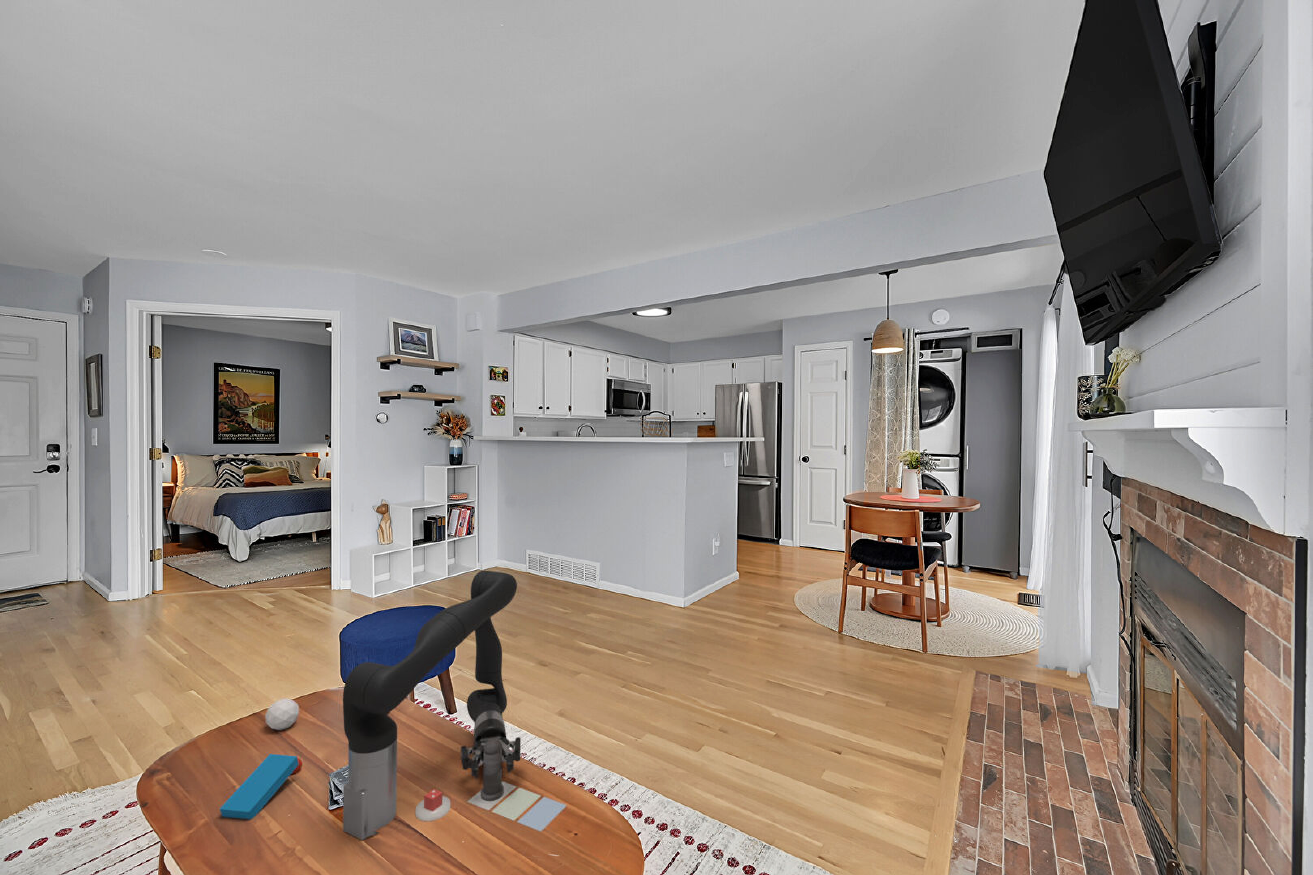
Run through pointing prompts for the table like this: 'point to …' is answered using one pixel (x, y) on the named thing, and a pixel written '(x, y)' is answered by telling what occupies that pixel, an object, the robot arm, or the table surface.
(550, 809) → the game board
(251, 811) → the lever
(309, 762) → the table surface
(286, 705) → the geometric ball
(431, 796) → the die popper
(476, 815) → the table surface
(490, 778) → the charcoal pawn
